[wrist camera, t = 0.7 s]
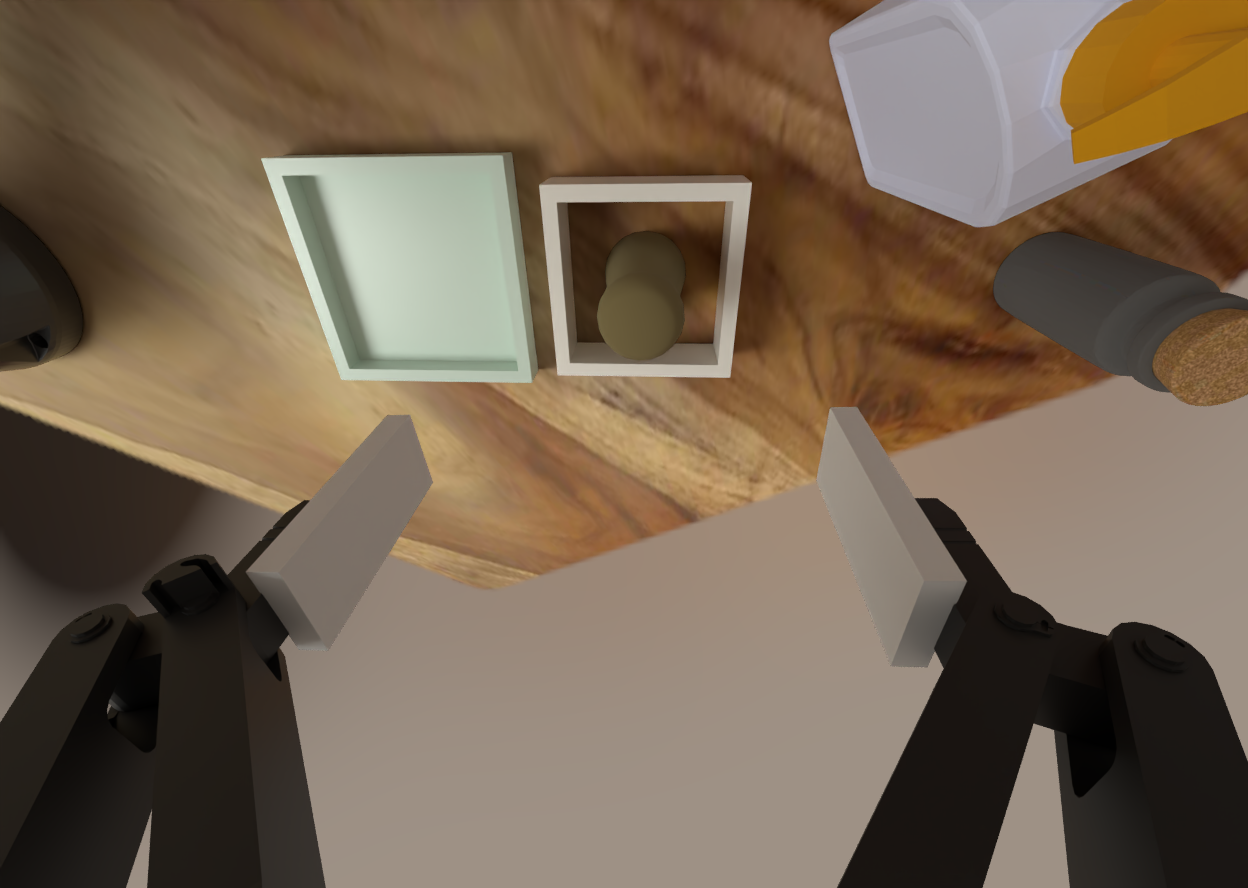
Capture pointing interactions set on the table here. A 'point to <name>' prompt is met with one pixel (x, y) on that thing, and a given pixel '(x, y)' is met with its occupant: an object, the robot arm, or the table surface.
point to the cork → (642, 296)
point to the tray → (412, 263)
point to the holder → (644, 189)
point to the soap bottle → (1030, 93)
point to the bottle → (1130, 315)
